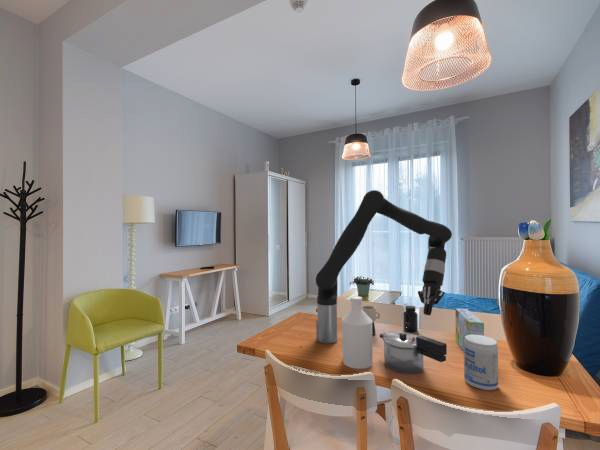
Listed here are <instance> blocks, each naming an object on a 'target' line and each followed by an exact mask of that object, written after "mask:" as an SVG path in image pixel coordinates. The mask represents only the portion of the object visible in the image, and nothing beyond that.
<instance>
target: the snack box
mask: <svg viewBox="0 0 600 450" xmlns="http://www.w3.org/2000/svg"><path fill="white" fill-rule="evenodd" d="M466 335H482V336H485V323H484V322H483V321H482V320H481V319H480V318H478V317H477V315H475V314H473V313H472V312H471V311H470V310H469V309H467V308H455V341H456V343H457V344H458V345H459V347H460V348H461V350H462V351H463V352H464V340H465V336H466Z"/></svg>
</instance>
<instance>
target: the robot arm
mask: <svg viewBox="0 0 600 450" xmlns="http://www.w3.org/2000/svg"><path fill="white" fill-rule="evenodd" d="M376 214H379V215H383V216H385V217H387V218H389V219H391V220H393V221H395V222H396V223H398V224H399V225H401V226H402V227H405V228H406V229H408V230H411V231H412V232H413V233H416V234H418V235H428V236H429V237H428V240H427V241H428V242H427V245H428V247H427V249H428V251H427V255H426V256H427V257H426V261H425V265H424V270H423V274H422V280H421V281H422V283H423V286H422V290H421V291H420V290H418V291H417V295H418V297H419V300H420V303H422V304H423V305H424V306H423V314H424V315H425V316H431V315H432V312H433V307H434V306H435V305H438V304H439V302H440V301H441V299H442V298H443V297H444V295H445V294H446V293H445V291H442V290H441V289H442V286H443V284H444V277H445V272H446V259H447V251H446V249H445V245H446V243H448V241H450V239H452V235H453V233H452V231H451V229H450V228H449V227H447V226H446V225H444V224H442V223H439V222H436V221H433V220H428V219H426V218H425V217H422V216H421V215H419V214H416V213H414V212H412V211H410V210H407V209H405V208H402V207H400V206H398V205H395V204H393V203H392V202H390V201H389V200H387V199H386V198H385V197H384V194H383V193H382V192H381V191H379V190H378V189H377V190H376V189H373V190H369V191H367V192H366V193H365V195H364V196H363V198H362V200H361V202H360V204H359V207H358V209H357V210H356V212H355V214H354V216H353V217H352V219H351V220H350V221H349V222H348V224H347V225H346V227H345V228H344V230H343V231H342V233H341V235H340V237H339V238H338V240H337V242H336V244H335V245H334V248H333V249H332V252H331V253H330V255H329V258H328V259H327V261H326V262H325V264H324V265H323V267H322V268H321V269H320V270H319V271H318V273H317V274H316V276H315V284H316V286H317V290H318V292H317V297H316V301H317V302H316V306H317V307H316V308H317V309H316V311H317V312H316V313H317V316H316V317H317V319H316V321H315V322H316V324H315V326H316V327H315V329H316V336H315V337H316V338H315V339H316V342H320V343H322V344H334V343H336V342H337V341H338V277H339V275H340V273H341V270H342V269H343V268H344V266H345V264H347V262H348V261H349V260H350V258H352V256H353V255H354V253H355V252H356V250H358V248H359V246H360V244H361V242H362V241H363V239H364V237H365V234H366V232H367V230H368V226H369V225H370V223H371V221H372V220H373V219H374V217H375V216H376Z"/></svg>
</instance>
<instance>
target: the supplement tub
mask: <svg viewBox="0 0 600 450" xmlns="http://www.w3.org/2000/svg"><path fill="white" fill-rule="evenodd" d="M463 376H464V381H465V382H466V383H467V384H468V385H469V386H471V387H474V388H475V387H476V389H478V388H479V390H484V391H494V390H496V389H498V387H499V346H498V341H497V340H496V339H494V338H492V337H490V336H486V335H484V336H482V335H466V336H465V340H464V351H463Z"/></svg>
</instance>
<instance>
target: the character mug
mask: <svg viewBox="0 0 600 450" xmlns="http://www.w3.org/2000/svg"><path fill="white" fill-rule="evenodd" d="M362 310H363V311H364V312H365V313H366V315H367V316H368V317H369V318H370V319H371V320H372V335H373V334H376V328H375V321H376V319H380V317H381V316H380V311H377V307H376V306H373V305H367V304H366V305H362Z"/></svg>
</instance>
